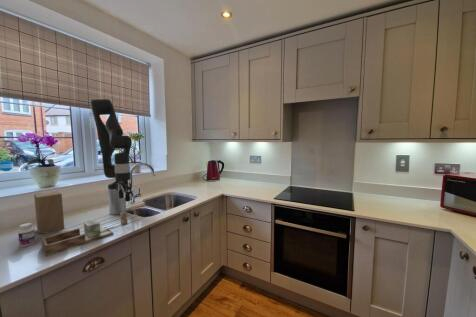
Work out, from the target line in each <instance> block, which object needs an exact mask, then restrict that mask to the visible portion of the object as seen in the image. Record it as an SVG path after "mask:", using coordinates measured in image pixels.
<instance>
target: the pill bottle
mask: <svg viewBox="0 0 476 317" xmlns="http://www.w3.org/2000/svg"><path fill="white" fill-rule="evenodd" d="M36 239H37V238H36V231H35V227H34V226H33V223H32V222H25V223H21V224H20V225H19V230H18V244H19V247H21V248H22V247H23V248H24V247H28V246H32V245H34V244H35V243H36Z"/></svg>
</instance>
